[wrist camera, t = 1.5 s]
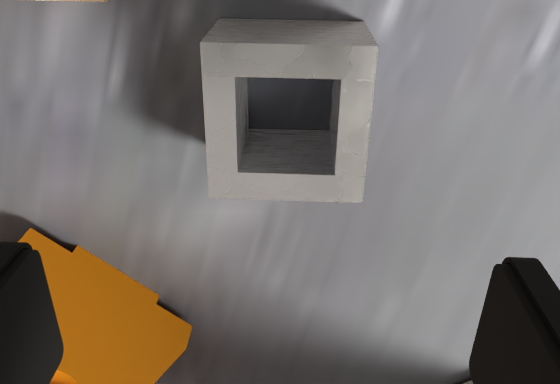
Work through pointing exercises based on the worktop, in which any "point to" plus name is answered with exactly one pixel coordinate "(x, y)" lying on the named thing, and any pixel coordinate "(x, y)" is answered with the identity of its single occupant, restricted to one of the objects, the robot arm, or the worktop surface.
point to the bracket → (106, 320)
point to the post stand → (77, 0)
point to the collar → (284, 142)
